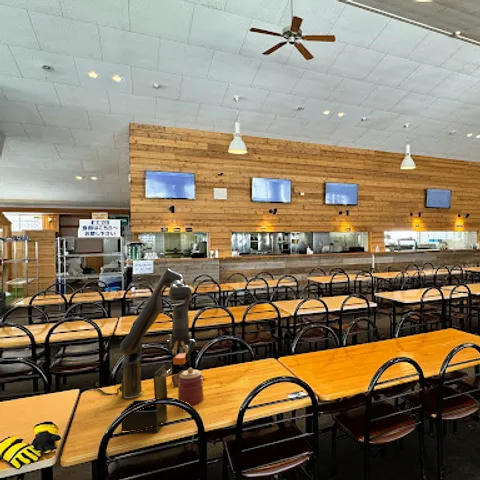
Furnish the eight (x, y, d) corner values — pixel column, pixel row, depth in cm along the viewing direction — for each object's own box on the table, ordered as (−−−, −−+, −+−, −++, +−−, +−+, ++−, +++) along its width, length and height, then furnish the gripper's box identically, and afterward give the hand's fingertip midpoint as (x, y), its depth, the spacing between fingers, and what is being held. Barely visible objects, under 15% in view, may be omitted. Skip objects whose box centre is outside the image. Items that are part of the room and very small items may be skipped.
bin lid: (153, 374, 170) (164, 373, 170) (163, 364, 182) (174, 363, 182) (155, 410, 170) (167, 409, 170) (165, 398, 182) (176, 397, 182)
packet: (183, 364, 182) (183, 358, 182) (173, 364, 182) (173, 358, 182) (188, 359, 190) (188, 353, 190) (178, 359, 190) (178, 353, 190)
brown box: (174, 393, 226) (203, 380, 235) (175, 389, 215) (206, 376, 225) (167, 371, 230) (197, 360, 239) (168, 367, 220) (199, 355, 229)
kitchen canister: (205, 394, 211) (204, 363, 210) (201, 404, 198) (200, 371, 198) (181, 396, 209) (180, 364, 209) (175, 406, 196) (174, 372, 196)
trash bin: (121, 434, 169) (121, 412, 169) (134, 420, 182) (133, 400, 182) (156, 432, 170) (156, 411, 170) (167, 419, 182) (166, 399, 182)
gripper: (197, 324, 190) (198, 358, 190) (168, 325, 189) (169, 358, 189) (193, 328, 182) (193, 363, 182) (163, 328, 182) (163, 363, 182)
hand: (181, 360), depth 186 cm, fingers closed on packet, 5 cm apart
